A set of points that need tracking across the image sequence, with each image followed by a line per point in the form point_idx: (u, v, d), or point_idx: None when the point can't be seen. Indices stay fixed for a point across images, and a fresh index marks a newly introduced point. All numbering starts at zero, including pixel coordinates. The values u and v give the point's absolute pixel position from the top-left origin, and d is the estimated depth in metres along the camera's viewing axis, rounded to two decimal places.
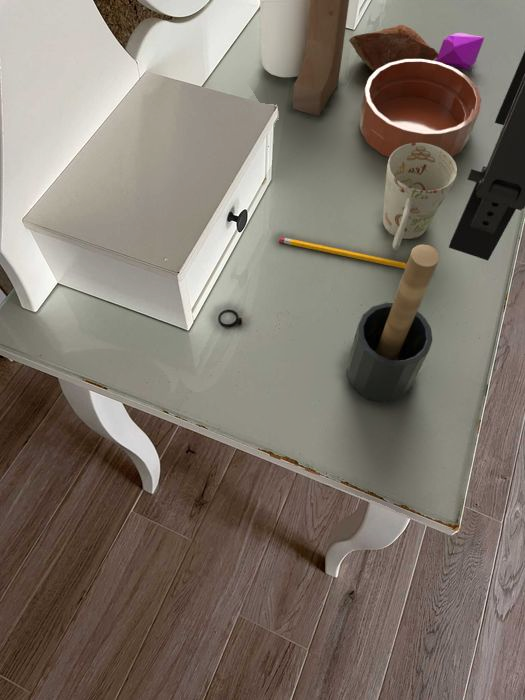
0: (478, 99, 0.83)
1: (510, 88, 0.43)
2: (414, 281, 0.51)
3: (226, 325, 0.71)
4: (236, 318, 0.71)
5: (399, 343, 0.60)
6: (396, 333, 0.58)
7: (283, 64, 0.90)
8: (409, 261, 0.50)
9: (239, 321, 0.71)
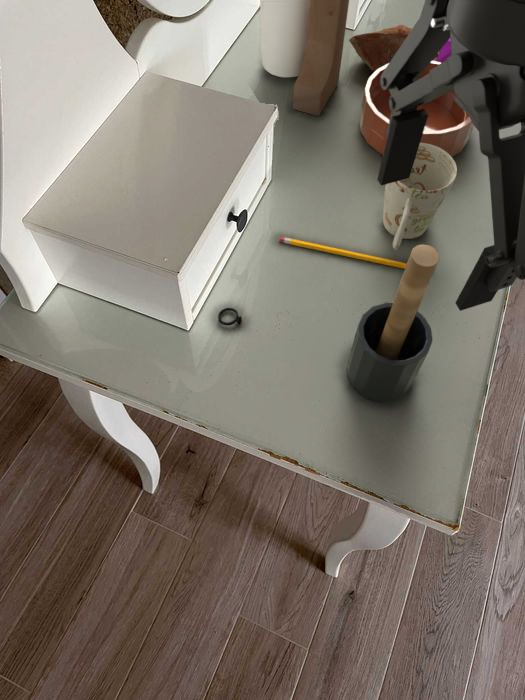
0: None
1: (389, 157, 0.47)
2: (414, 281, 0.51)
3: (226, 323, 0.71)
4: (236, 316, 0.71)
5: (399, 343, 0.60)
6: (396, 333, 0.58)
7: (283, 64, 0.90)
8: (409, 261, 0.50)
9: (239, 319, 0.70)
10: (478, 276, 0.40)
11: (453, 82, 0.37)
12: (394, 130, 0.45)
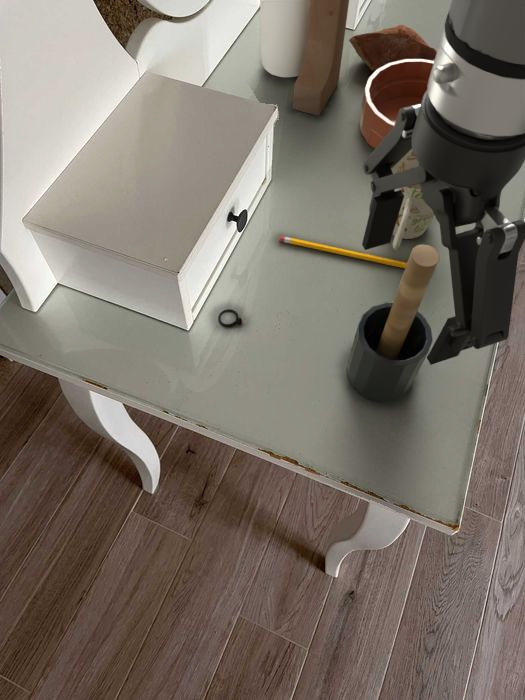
0: None
1: (371, 229, 0.55)
2: (414, 281, 0.51)
3: (226, 325, 0.71)
4: (236, 318, 0.71)
5: (399, 343, 0.60)
6: (396, 333, 0.58)
7: (283, 64, 0.90)
8: (409, 261, 0.50)
9: (239, 321, 0.71)
10: (444, 340, 0.48)
11: (420, 183, 0.44)
12: (375, 208, 0.52)
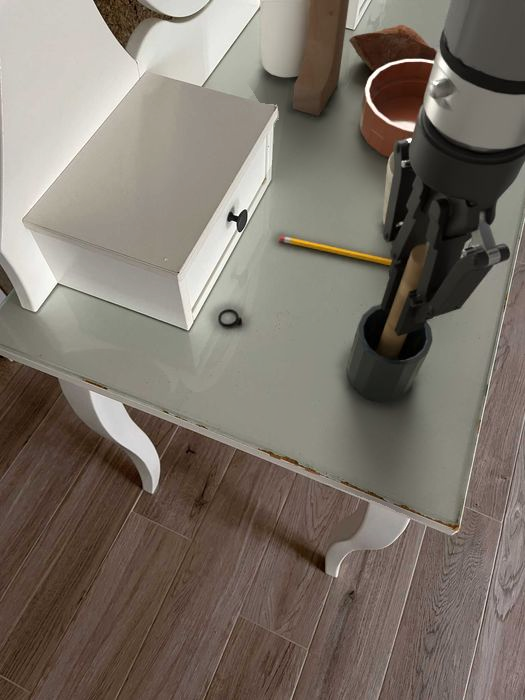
0: None
1: (390, 293, 0.55)
2: (414, 281, 0.51)
3: (226, 325, 0.71)
4: (236, 318, 0.71)
5: (399, 343, 0.60)
6: None
7: (283, 64, 0.90)
8: (409, 261, 0.50)
9: (239, 321, 0.71)
10: (407, 311, 0.53)
11: (425, 205, 0.45)
12: (395, 275, 0.53)
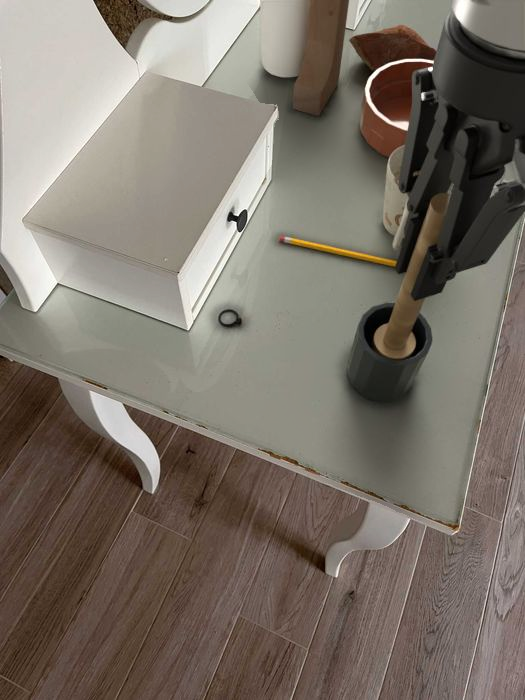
0: None
1: (406, 252, 0.50)
2: (434, 234, 0.45)
3: (226, 325, 0.71)
4: (236, 318, 0.71)
5: (415, 311, 0.54)
6: (412, 299, 0.53)
7: (283, 64, 0.90)
8: (428, 211, 0.44)
9: (239, 321, 0.71)
10: (425, 271, 0.47)
11: (449, 140, 0.39)
12: (412, 231, 0.47)
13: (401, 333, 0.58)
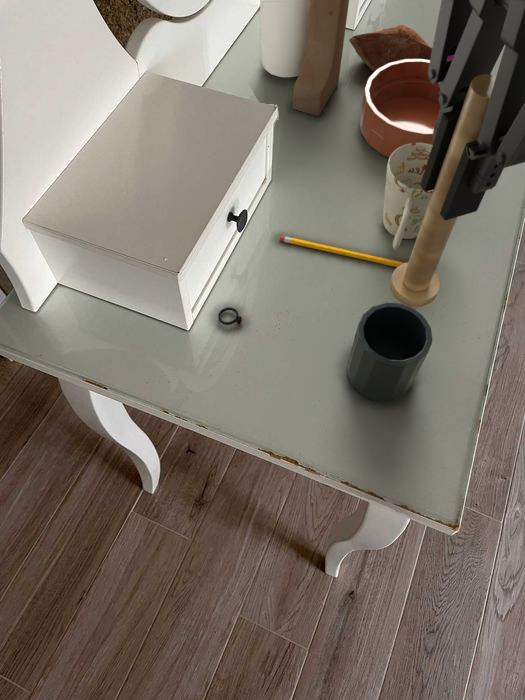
0: None
1: (436, 160, 0.42)
2: (473, 127, 0.37)
3: (225, 323, 0.71)
4: (236, 316, 0.71)
5: (443, 238, 0.46)
6: (441, 222, 0.45)
7: (283, 64, 0.90)
8: (468, 97, 0.36)
9: (239, 319, 0.70)
10: (461, 176, 0.39)
11: None
12: (444, 129, 0.39)
13: (424, 269, 0.50)
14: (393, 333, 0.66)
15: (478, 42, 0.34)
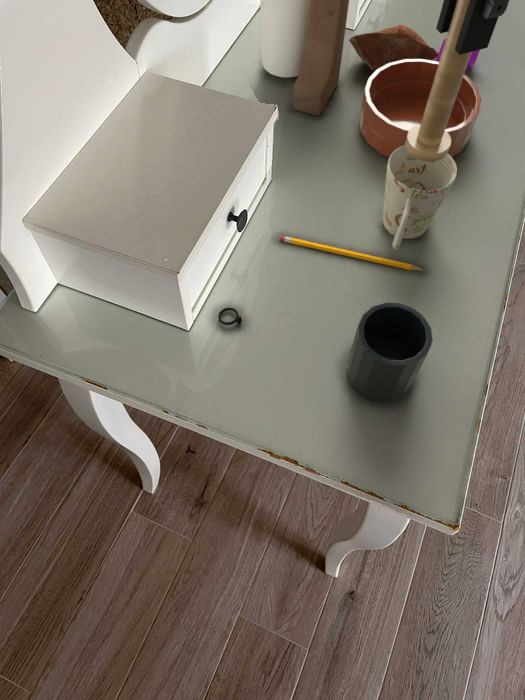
0: (478, 99, 0.83)
1: None
2: None
3: (225, 323, 0.71)
4: (236, 316, 0.71)
5: (456, 81, 0.51)
6: (455, 61, 0.50)
7: (283, 64, 0.90)
8: None
9: (239, 320, 0.70)
10: (475, 2, 0.44)
11: None
12: None
13: (438, 119, 0.55)
14: (393, 333, 0.66)
15: None
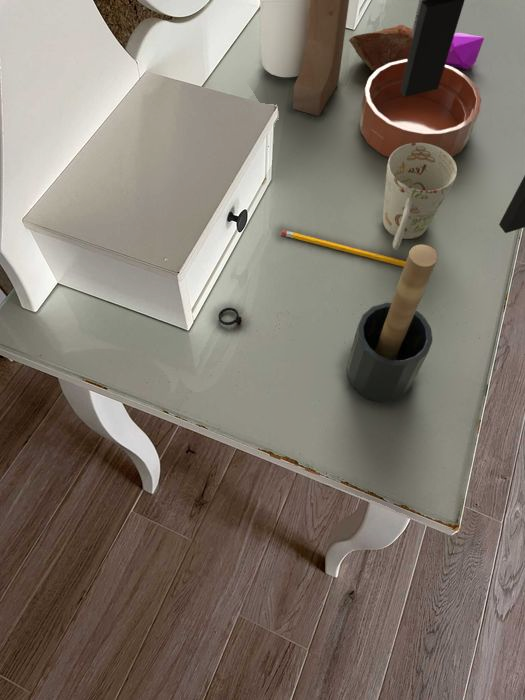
0: (478, 99, 0.83)
1: (415, 57, 0.40)
2: (412, 281, 0.51)
3: (225, 323, 0.71)
4: (236, 317, 0.71)
5: (398, 343, 0.60)
6: (395, 333, 0.58)
7: (283, 64, 0.90)
8: (407, 261, 0.50)
9: (238, 320, 0.70)
10: None
11: None
12: (423, 18, 0.37)
13: None
14: None
15: None
